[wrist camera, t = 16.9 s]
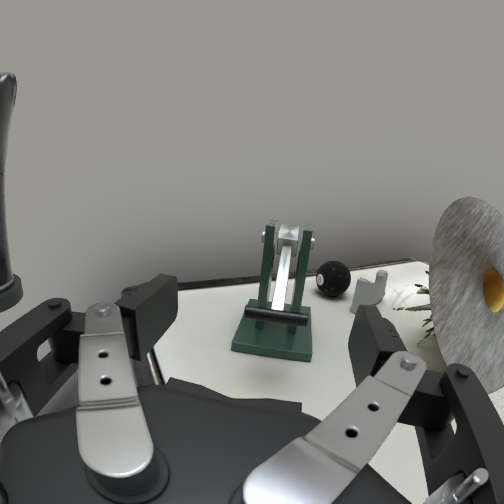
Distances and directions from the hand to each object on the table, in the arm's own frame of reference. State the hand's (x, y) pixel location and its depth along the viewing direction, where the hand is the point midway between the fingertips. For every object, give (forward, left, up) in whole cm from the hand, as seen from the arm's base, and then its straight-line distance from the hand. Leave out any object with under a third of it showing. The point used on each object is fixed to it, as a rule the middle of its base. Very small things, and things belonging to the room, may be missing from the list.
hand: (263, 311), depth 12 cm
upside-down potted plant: (+30, +14, -14) cm, 36 cm away
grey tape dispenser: (+21, +30, -14) cm, 39 cm away
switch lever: (+3, +17, -5) cm, 18 cm away
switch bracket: (+4, +21, -14) cm, 25 cm away
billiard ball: (+15, +34, -14) cm, 40 cm away
